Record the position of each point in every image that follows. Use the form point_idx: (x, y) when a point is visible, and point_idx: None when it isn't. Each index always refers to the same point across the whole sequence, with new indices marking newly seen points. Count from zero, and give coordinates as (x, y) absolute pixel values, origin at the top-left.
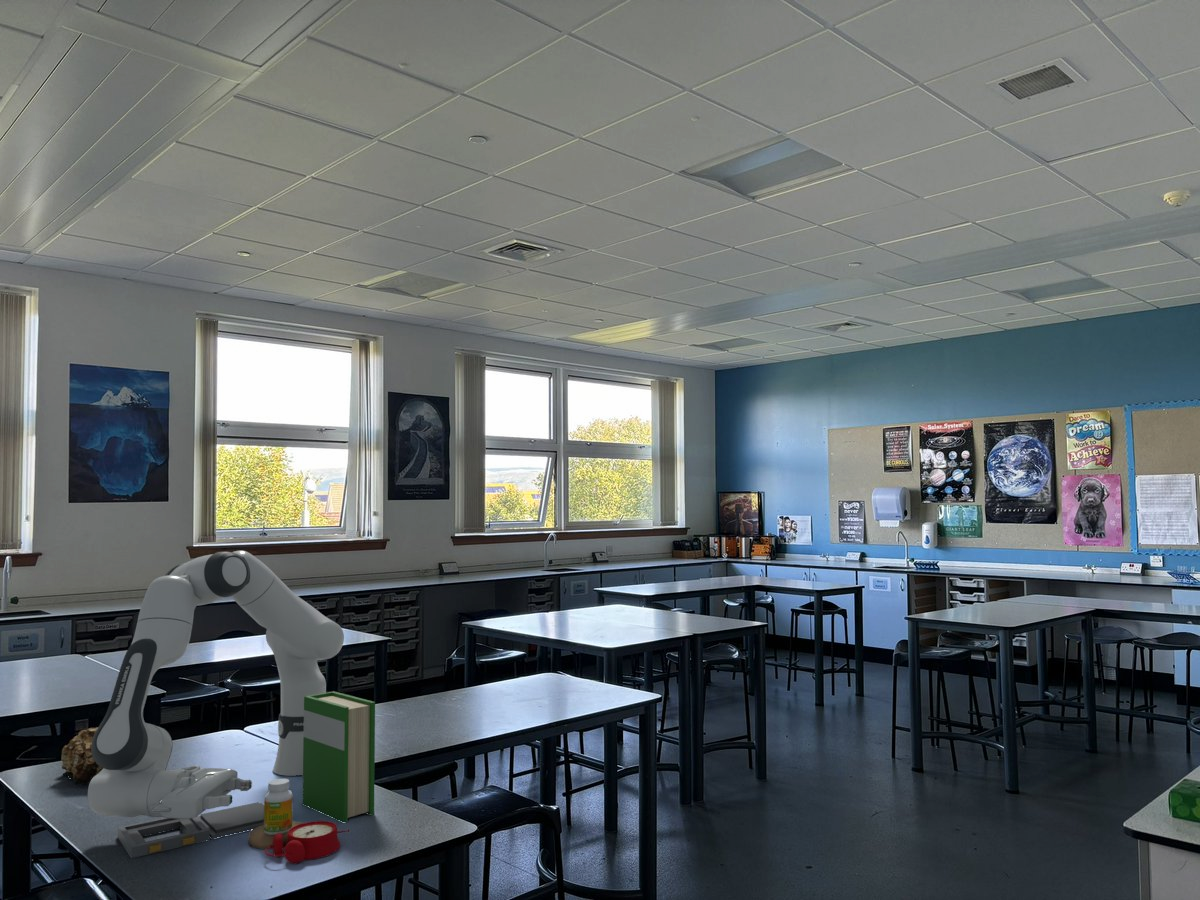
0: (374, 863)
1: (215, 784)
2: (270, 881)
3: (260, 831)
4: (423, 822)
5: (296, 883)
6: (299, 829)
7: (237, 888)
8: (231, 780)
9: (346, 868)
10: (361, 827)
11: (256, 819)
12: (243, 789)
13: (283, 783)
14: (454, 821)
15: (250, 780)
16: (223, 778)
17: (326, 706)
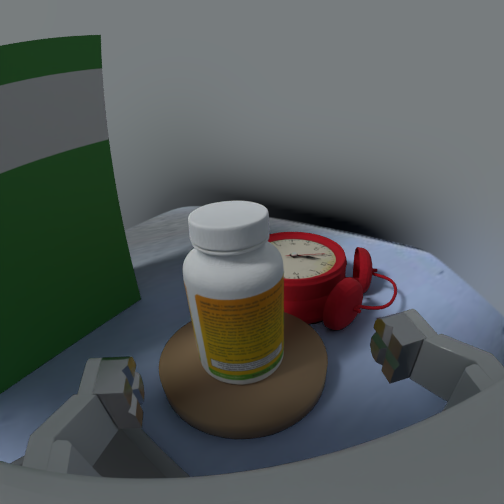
0: (313, 226)
1: (323, 467)
2: (432, 280)
3: (255, 395)
4: (156, 231)
5: (414, 257)
6: (289, 276)
7: (478, 299)
8: (69, 465)
9: (342, 238)
10: (168, 272)
11: (130, 461)
12: (139, 406)
13: (248, 202)
14: (158, 216)
15: (91, 358)
16: (111, 493)
17: (11, 54)
